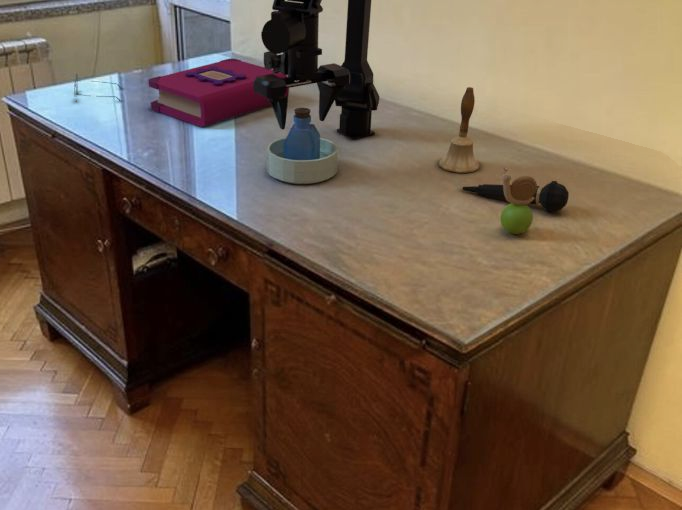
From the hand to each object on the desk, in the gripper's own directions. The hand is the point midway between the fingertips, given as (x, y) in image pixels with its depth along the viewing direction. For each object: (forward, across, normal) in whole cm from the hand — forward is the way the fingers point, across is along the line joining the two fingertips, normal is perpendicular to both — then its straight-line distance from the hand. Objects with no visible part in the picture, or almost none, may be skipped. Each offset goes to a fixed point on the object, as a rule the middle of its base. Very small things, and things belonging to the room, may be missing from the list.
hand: (302, 124), depth 152 cm
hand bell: (+10, -30, +14) cm, 34 cm away
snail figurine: (+10, -17, +42) cm, 47 cm away
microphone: (+10, -27, +33) cm, 44 cm away
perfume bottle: (+9, 0, 0) cm, 9 cm away
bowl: (+10, 0, 0) cm, 10 cm away
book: (+10, -6, -47) cm, 48 cm away
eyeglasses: (+10, +17, -70) cm, 72 cm away
